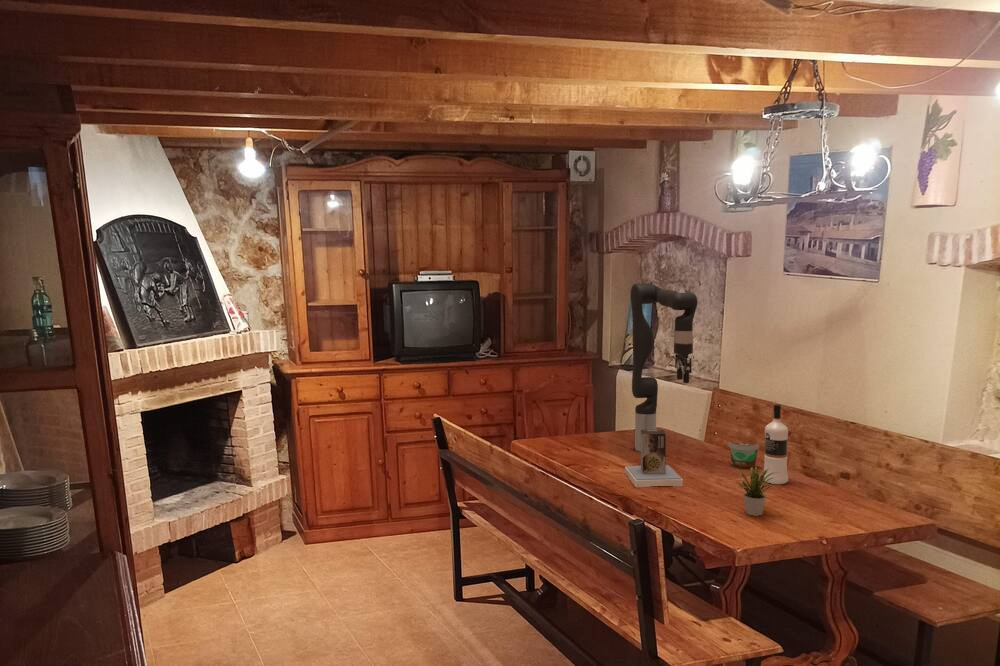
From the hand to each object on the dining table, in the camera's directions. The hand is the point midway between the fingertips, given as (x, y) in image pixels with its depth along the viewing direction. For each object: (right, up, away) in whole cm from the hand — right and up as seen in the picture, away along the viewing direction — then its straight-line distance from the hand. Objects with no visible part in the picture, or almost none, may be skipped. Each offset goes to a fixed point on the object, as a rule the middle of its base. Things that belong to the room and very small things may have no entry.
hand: (682, 381), depth 285 cm
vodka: (+31, -38, -16) cm, 52 cm away
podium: (-15, -38, -12) cm, 42 cm away
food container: (+25, -36, +3) cm, 44 cm away
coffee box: (-15, -35, -12) cm, 40 cm away
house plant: (+12, -41, -51) cm, 67 cm away
